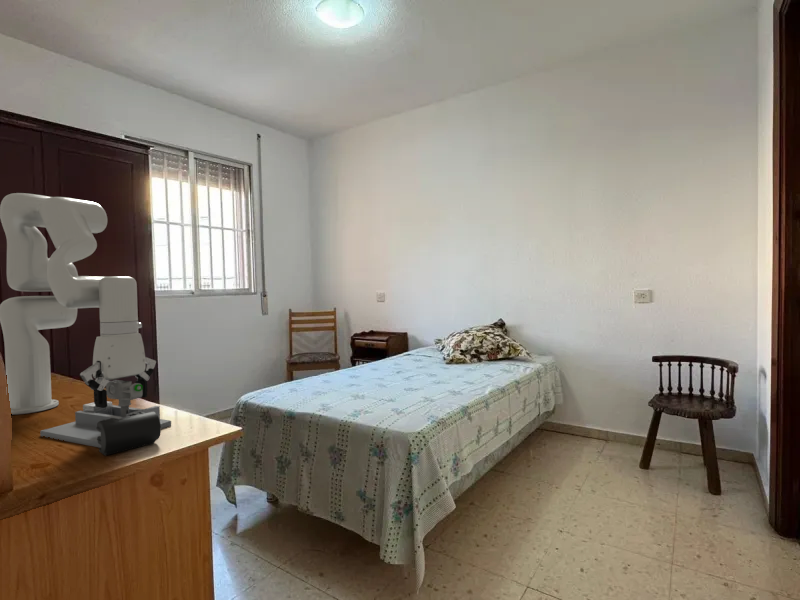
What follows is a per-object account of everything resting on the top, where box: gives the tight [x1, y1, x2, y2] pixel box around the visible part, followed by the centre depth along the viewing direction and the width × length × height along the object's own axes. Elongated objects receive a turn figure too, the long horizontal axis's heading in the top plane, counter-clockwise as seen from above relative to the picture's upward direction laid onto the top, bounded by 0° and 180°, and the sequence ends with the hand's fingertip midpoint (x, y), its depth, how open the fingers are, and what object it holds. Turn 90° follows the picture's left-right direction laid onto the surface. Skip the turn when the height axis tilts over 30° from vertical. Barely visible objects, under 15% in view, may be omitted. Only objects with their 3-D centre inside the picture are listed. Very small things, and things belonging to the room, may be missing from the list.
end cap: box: [96, 412, 162, 456], centre depth 91 cm, size 10×7×7 cm
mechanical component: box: [105, 379, 143, 417], centre depth 103 cm, size 3×10×10 cm, turn 68°
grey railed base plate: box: [39, 404, 172, 449], centre depth 102 cm, size 22×16×5 cm
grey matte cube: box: [82, 400, 113, 415], centre depth 107 cm, size 4×4×4 cm
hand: (122, 401), depth 103 cm, fingers open, 9 cm apart
